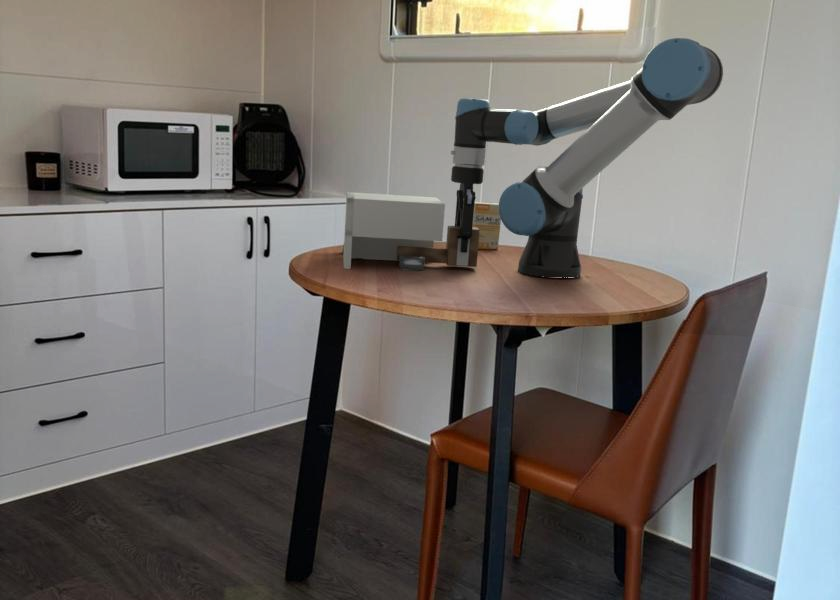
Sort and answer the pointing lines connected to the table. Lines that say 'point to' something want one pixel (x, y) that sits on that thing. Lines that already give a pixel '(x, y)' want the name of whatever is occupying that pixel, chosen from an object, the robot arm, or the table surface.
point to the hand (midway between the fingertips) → (460, 263)
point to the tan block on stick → (445, 249)
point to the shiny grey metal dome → (412, 262)
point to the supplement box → (487, 224)
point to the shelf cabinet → (389, 225)
